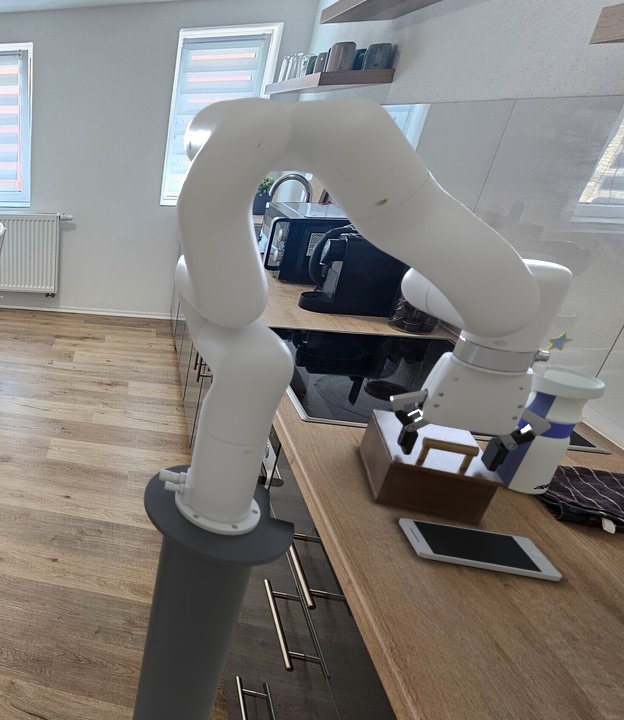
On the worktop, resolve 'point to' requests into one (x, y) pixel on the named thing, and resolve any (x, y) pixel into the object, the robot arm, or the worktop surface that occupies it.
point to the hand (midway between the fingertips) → (444, 457)
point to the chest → (421, 485)
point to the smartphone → (478, 549)
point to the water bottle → (562, 411)
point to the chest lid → (437, 451)
